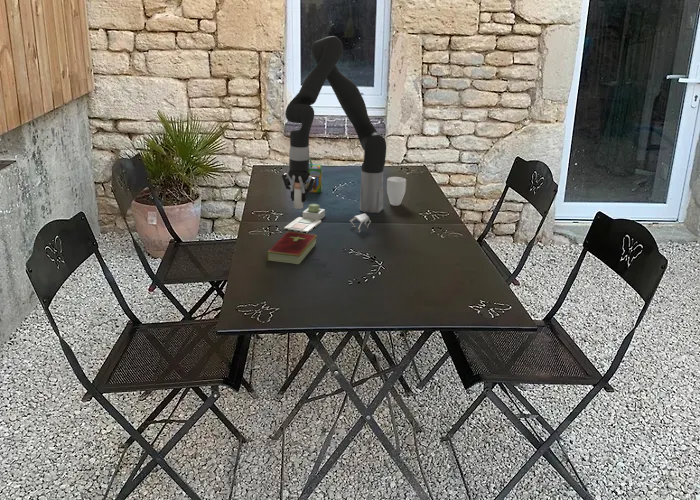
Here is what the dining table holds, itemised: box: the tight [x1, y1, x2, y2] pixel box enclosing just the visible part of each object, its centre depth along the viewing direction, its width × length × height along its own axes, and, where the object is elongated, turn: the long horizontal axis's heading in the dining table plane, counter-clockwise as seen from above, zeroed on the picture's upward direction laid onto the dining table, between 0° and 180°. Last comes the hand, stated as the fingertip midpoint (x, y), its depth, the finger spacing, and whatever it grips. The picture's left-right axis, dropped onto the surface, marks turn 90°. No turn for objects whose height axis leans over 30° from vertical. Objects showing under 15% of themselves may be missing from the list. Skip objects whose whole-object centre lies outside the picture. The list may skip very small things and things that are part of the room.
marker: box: [293, 182, 304, 210], centre depth 257 cm, size 4×4×10 cm
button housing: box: [302, 207, 326, 221], centre depth 274 cm, size 7×7×3 cm
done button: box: [308, 203, 320, 213], centre depth 273 cm, size 4×4×3 cm
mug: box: [386, 176, 407, 207], centre depth 295 cm, size 12×8×11 cm
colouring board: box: [283, 216, 322, 234], centre depth 265 cm, size 10×14×1 cm
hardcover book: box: [265, 230, 318, 265], centre depth 238 cm, size 12×21×4 cm, turn 166°
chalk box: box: [306, 157, 323, 194], centre depth 308 cm, size 9×9×15 cm
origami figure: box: [349, 212, 372, 233], centre depth 263 cm, size 12×8×5 cm
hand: (298, 200), depth 258 cm, fingers closed on marker, 3 cm apart
